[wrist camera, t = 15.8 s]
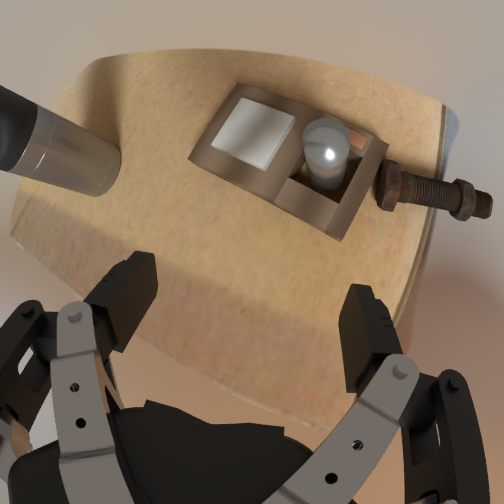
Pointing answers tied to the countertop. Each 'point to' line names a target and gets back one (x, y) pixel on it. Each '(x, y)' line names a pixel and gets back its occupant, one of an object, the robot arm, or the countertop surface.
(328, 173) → the peg
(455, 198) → the bolt
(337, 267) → the countertop surface
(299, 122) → the recessed board
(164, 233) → the countertop surface
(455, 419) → the robot arm
